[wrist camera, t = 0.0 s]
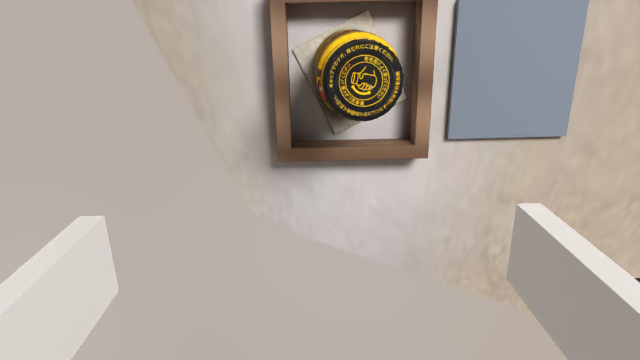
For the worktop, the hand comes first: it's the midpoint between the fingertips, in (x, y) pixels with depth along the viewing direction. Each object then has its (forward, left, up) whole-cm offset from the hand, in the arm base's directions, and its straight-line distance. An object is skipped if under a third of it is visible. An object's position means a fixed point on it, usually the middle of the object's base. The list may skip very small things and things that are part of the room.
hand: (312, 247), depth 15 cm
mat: (-2, +18, -28) cm, 33 cm away
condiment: (-2, +4, -28) cm, 29 cm away
